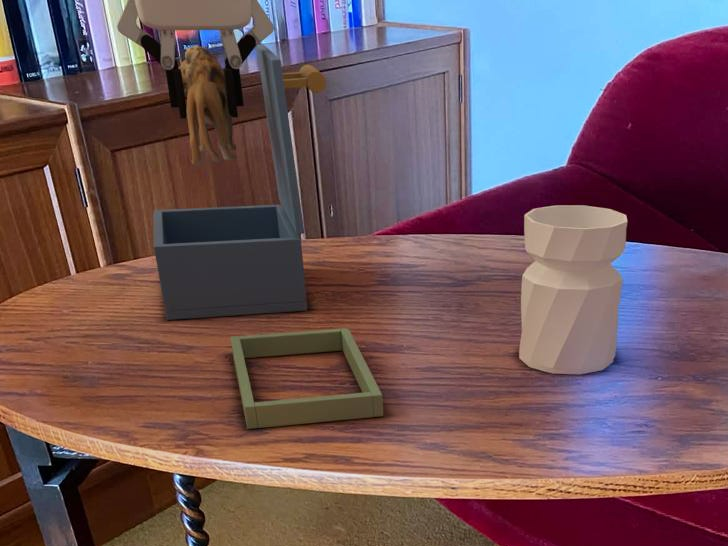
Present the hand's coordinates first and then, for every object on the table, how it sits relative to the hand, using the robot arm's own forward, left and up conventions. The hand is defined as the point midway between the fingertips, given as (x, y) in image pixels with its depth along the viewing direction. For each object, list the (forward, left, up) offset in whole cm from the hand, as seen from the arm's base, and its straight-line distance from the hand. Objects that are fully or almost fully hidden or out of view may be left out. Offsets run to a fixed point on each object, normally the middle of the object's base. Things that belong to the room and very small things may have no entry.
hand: (208, 113), depth 92 cm
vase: (+28, -27, -17) cm, 42 cm away
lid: (+6, 0, -2) cm, 7 cm away
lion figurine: (0, +2, -4) cm, 4 cm away
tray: (+4, -28, -17) cm, 33 cm away
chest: (0, 0, -17) cm, 17 cm away
